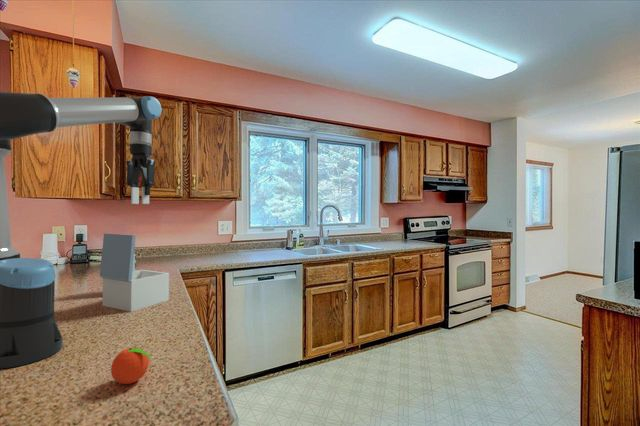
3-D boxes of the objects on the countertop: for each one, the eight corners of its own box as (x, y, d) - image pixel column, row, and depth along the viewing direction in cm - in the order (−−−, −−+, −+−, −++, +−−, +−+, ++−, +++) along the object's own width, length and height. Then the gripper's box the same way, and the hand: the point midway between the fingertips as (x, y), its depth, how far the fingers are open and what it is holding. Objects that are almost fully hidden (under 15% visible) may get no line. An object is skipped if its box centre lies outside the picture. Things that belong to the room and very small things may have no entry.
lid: (131, 282, 113) (128, 282, 112) (102, 277, 120) (99, 278, 119) (135, 235, 115) (132, 235, 113) (107, 233, 121) (103, 233, 120)
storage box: (131, 311, 113) (131, 280, 113) (102, 305, 120) (102, 276, 120) (168, 300, 128) (169, 273, 128) (141, 295, 135) (141, 269, 134)
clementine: (160, 373, 71) (160, 342, 71) (141, 391, 64) (141, 356, 64) (124, 373, 71) (125, 341, 71) (102, 390, 64) (102, 355, 64)
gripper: (165, 144, 124) (165, 204, 124) (133, 148, 132) (133, 204, 132) (148, 140, 117) (147, 203, 118) (116, 144, 125) (115, 203, 125)
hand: (140, 203), depth 125 cm, fingers open, 5 cm apart
